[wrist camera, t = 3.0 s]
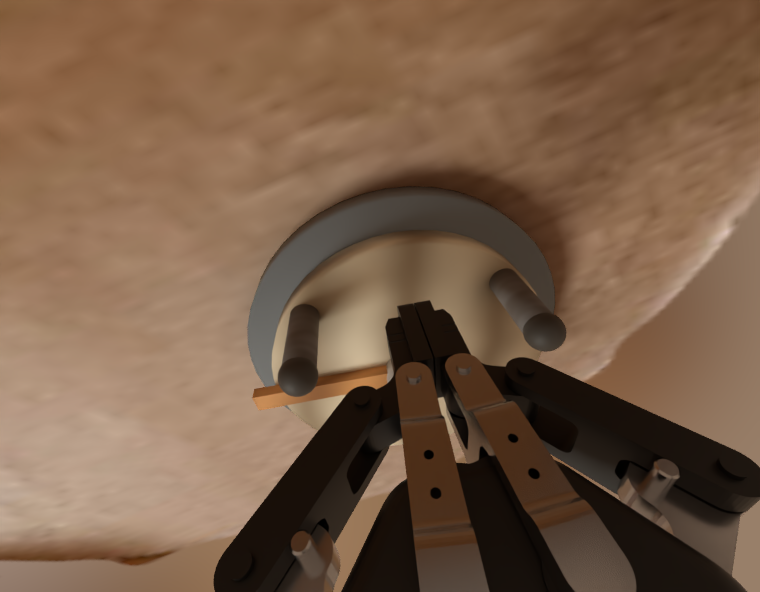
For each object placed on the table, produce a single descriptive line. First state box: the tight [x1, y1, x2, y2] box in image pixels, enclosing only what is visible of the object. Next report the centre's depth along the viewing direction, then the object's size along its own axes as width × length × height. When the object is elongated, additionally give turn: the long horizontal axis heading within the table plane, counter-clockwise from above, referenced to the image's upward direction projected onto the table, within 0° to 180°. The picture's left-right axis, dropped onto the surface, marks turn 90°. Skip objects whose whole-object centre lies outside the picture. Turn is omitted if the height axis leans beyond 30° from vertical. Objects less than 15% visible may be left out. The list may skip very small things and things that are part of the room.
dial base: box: [248, 187, 555, 410], centre depth 27 cm, size 24×24×2 cm
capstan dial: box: [253, 230, 566, 446], centre depth 23 cm, size 22×20×8 cm
